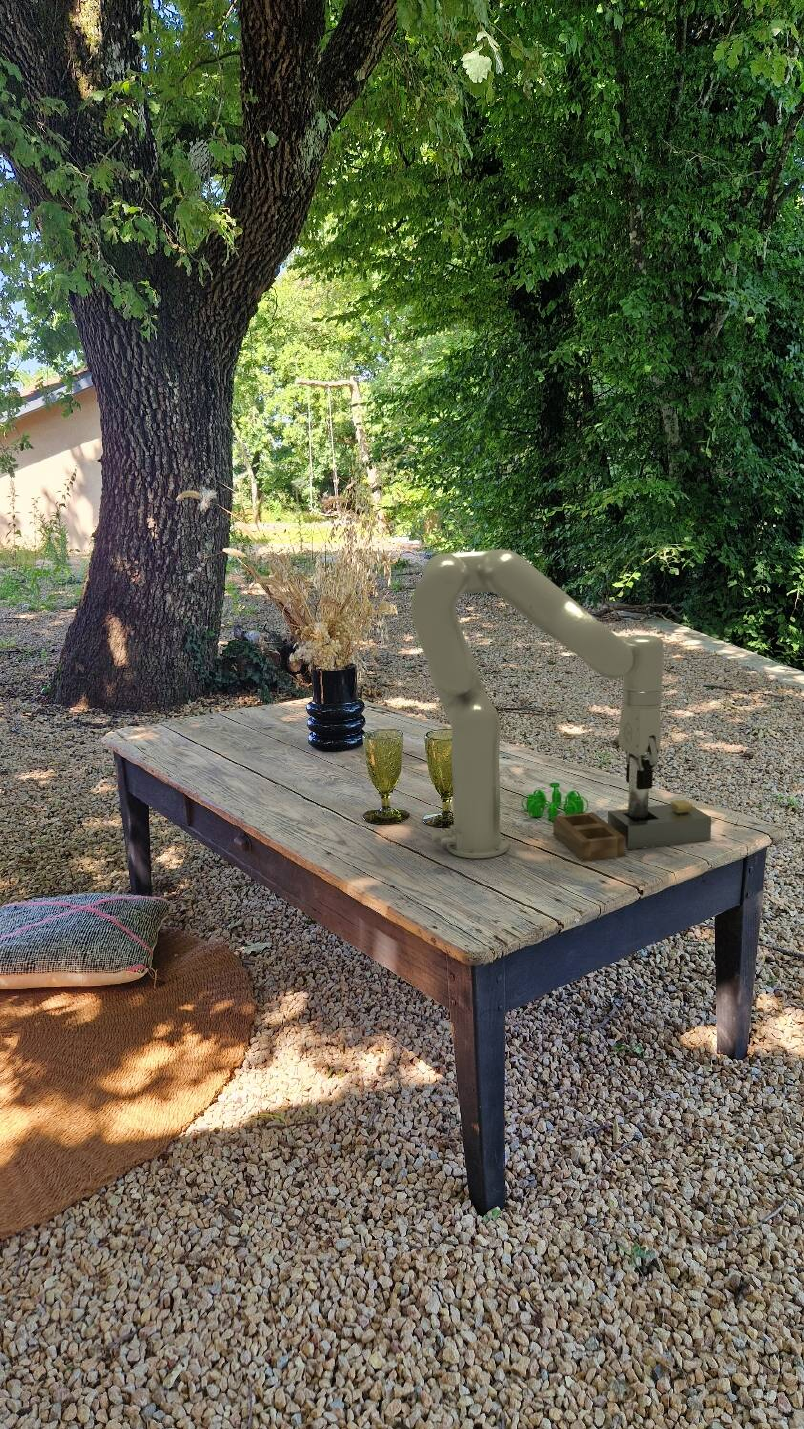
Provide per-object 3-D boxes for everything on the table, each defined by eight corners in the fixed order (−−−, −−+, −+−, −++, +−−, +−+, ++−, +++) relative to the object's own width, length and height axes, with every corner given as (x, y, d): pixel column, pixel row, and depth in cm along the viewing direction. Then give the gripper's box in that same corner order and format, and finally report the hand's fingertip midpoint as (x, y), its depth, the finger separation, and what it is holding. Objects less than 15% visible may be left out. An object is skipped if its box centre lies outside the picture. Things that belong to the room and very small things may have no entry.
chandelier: (586, 825, 197) (586, 795, 196) (518, 822, 201) (517, 793, 200) (589, 803, 212) (589, 775, 210) (525, 801, 215) (525, 773, 214)
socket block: (628, 850, 182) (628, 826, 181) (607, 833, 191) (607, 811, 190) (710, 840, 185) (711, 817, 184) (686, 824, 195) (686, 802, 193)
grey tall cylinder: (633, 817, 184) (635, 761, 181) (624, 811, 188) (626, 756, 185) (651, 816, 185) (653, 759, 182) (642, 810, 188) (644, 754, 186)
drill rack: (582, 861, 177) (582, 842, 176) (553, 834, 192) (553, 816, 191) (625, 856, 178) (625, 837, 178) (593, 829, 194) (593, 812, 193)
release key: (677, 836, 187) (677, 806, 186) (669, 831, 190) (670, 801, 189) (691, 834, 188) (692, 804, 186) (683, 829, 191) (684, 800, 189)
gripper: (607, 691, 188) (605, 775, 192) (643, 707, 172) (640, 799, 176) (640, 689, 190) (637, 773, 194) (679, 704, 174) (675, 796, 178)
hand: (638, 784), depth 185 cm, fingers closed on grey tall cylinder, 4 cm apart
